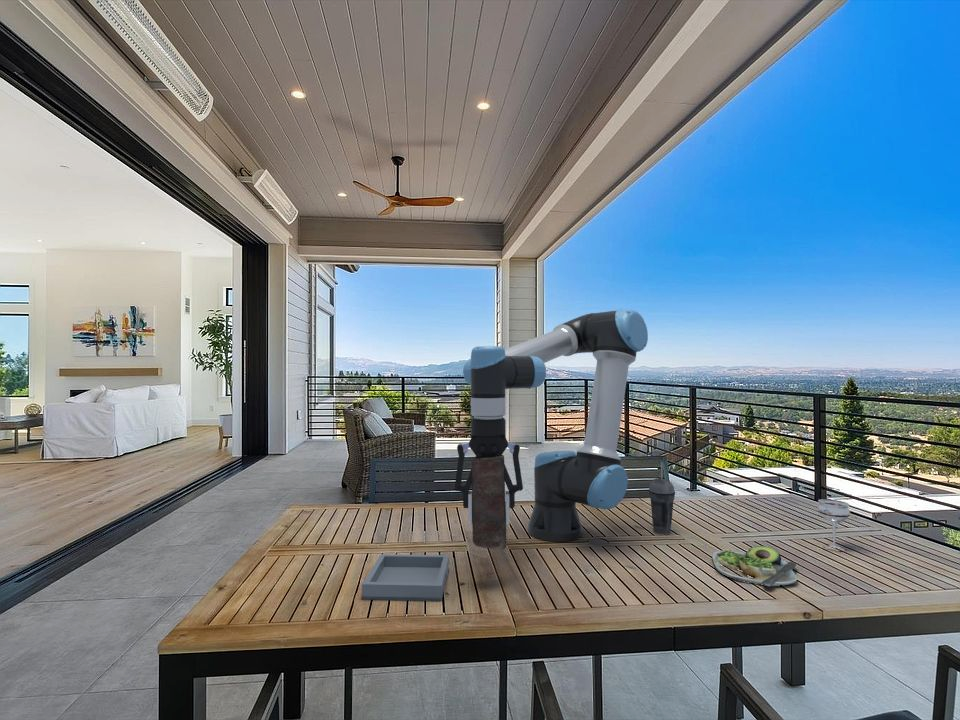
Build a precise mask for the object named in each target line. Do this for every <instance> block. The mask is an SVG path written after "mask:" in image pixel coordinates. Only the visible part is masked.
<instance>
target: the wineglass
mask: <svg viewBox="0 0 960 720" xmlns="http://www.w3.org/2000/svg"><path fill="white" fill-rule="evenodd" d="M817 501H818V503H819V504H818V507H817V509H818V513H819V515H820V516H821V517H822V518H823V520H826V521H828V522H829V524H830V525H831V526H832V527H831V529H832V541H833V543H832V544H828V545H829V546H830V547H833V548H840V546H838V545H836V533H837V529H836V528H837V527H836V526H837V525H838V524H840V523H844V522H845V521H846V520H848V519H849V518H850V514H851V511H850V508H849V507H850V503H848V502H845V501H841V500H837V499H829V498H826V499H824V498H823V499H822V498H821V499H818V500H817Z"/></svg>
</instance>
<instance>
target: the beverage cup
mask: <svg viewBox="0 0 960 720" xmlns="http://www.w3.org/2000/svg"><path fill="white" fill-rule="evenodd" d="M663 463H664V462H663V461H661V462H660V477H656V478H654V479H653V480H651V482H650V484H649V486H648V487H649V488H648V492H649V493H648V495H649V499H650V510H651V519H652V528H653V533H655V534H657V535H661V536H662V535H663V536H669V535H671V531H672V522H673V521H672V520H673V512H674V511H673V510H674V500H675V497H676V496H675V495H676V491H675V487H674V485H673V483H672V482H671V481H670V480H669V479H667V478H665V477H664V476H663V472H664V470H663V469H664V468H663V467H664V465H663Z"/></svg>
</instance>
